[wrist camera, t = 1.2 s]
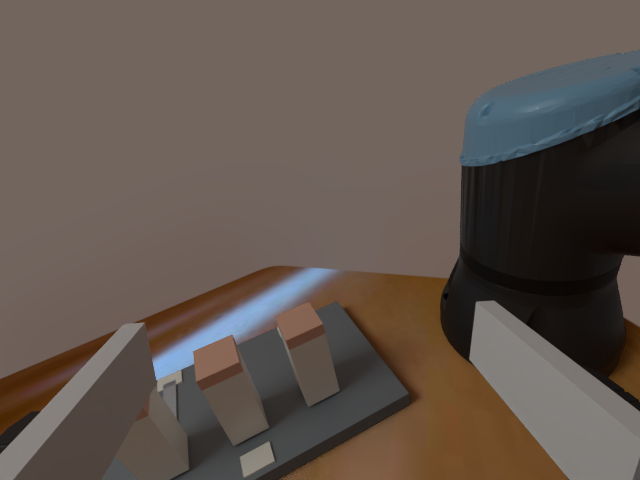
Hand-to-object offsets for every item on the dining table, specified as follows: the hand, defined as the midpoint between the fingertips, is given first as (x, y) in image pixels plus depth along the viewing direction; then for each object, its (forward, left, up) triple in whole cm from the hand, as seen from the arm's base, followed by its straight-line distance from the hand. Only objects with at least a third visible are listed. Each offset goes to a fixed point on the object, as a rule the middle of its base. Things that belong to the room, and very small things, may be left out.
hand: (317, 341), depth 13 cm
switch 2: (-1, -10, -15) cm, 18 cm away
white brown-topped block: (+12, -10, -15) cm, 22 cm away
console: (+6, -12, -17) cm, 22 cm away
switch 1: (+6, -10, -15) cm, 19 cm away
